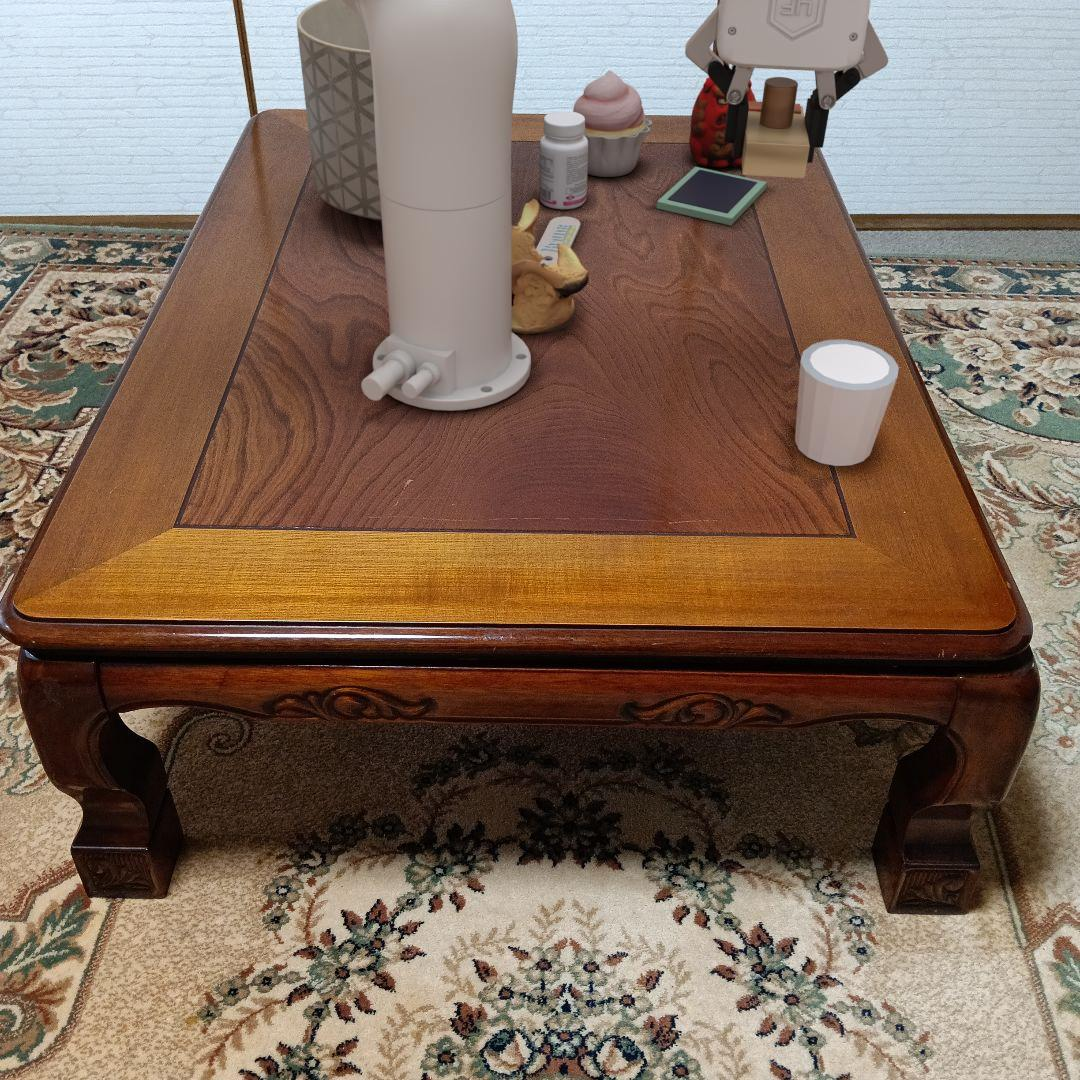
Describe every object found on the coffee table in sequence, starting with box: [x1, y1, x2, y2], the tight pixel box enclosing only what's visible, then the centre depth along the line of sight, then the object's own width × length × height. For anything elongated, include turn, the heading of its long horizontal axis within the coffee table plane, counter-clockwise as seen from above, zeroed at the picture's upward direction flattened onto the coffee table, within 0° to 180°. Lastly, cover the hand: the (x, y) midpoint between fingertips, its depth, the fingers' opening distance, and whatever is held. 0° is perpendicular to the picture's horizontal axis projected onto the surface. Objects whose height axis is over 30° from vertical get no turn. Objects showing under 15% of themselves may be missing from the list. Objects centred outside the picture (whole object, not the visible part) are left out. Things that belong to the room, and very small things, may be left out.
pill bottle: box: [538, 110, 588, 210], centre depth 119 cm, size 5×5×8 cm
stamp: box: [741, 76, 810, 180], centre depth 89 cm, size 8×4×6 cm, turn 174°
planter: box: [296, 0, 382, 223], centre depth 114 cm, size 19×19×18 cm
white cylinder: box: [794, 339, 900, 467], centre depth 87 cm, size 7×7×7 cm
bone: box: [511, 198, 590, 335], centre depth 102 cm, size 12×10×8 cm
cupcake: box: [572, 69, 653, 178], centre depth 125 cm, size 9×9×10 cm
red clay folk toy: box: [688, 62, 757, 169], centre depth 126 cm, size 8×7×15 cm
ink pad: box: [656, 166, 768, 227], centre depth 122 cm, size 10×8×1 cm
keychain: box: [535, 216, 581, 266], centre depth 114 cm, size 10×1×3 cm
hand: (771, 151), depth 91 cm, fingers closed on stamp, 4 cm apart
